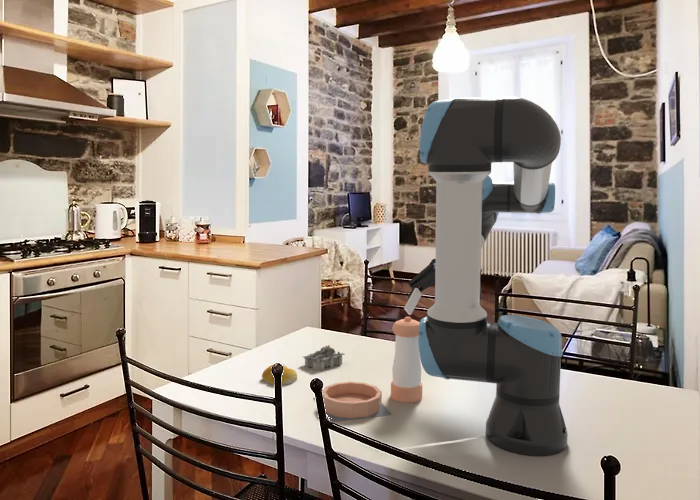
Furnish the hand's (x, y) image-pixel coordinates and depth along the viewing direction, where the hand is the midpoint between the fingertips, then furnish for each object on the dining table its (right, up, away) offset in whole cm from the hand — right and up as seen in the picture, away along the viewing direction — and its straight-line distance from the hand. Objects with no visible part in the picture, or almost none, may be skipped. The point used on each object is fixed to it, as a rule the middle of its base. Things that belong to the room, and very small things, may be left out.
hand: (429, 316), depth 133 cm
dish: (-19, -19, -11) cm, 29 cm away
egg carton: (-26, -16, +20) cm, 37 cm away
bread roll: (-37, -18, +6) cm, 41 cm away
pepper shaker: (-6, -19, -5) cm, 20 cm away
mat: (-19, -19, -11) cm, 29 cm away
